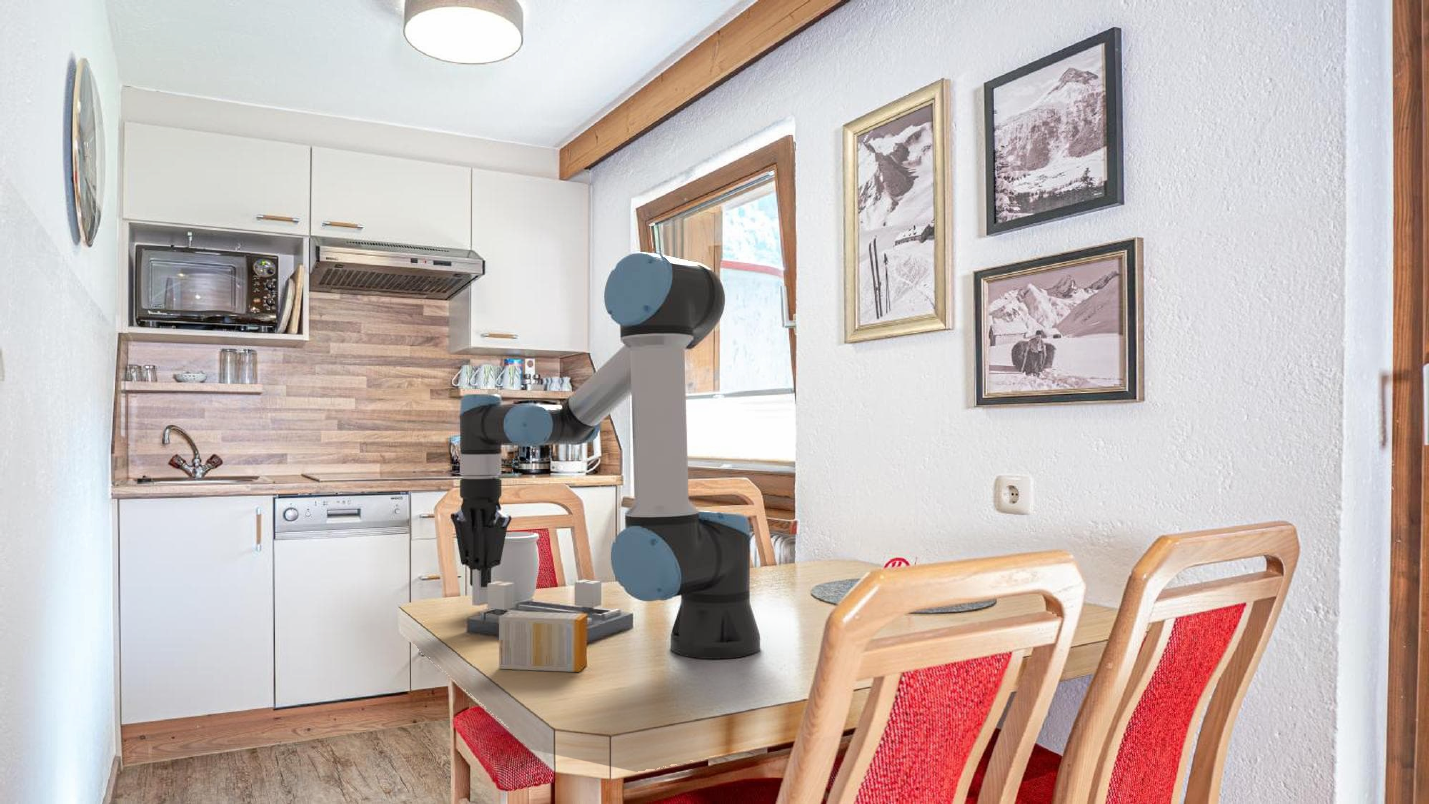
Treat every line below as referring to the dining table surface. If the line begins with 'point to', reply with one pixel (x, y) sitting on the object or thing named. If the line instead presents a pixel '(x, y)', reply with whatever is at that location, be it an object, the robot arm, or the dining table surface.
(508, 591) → the fader
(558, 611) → the dark grey slotted tray
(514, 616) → the supplement box
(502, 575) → the jar
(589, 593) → the fader
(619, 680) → the dining table surface
